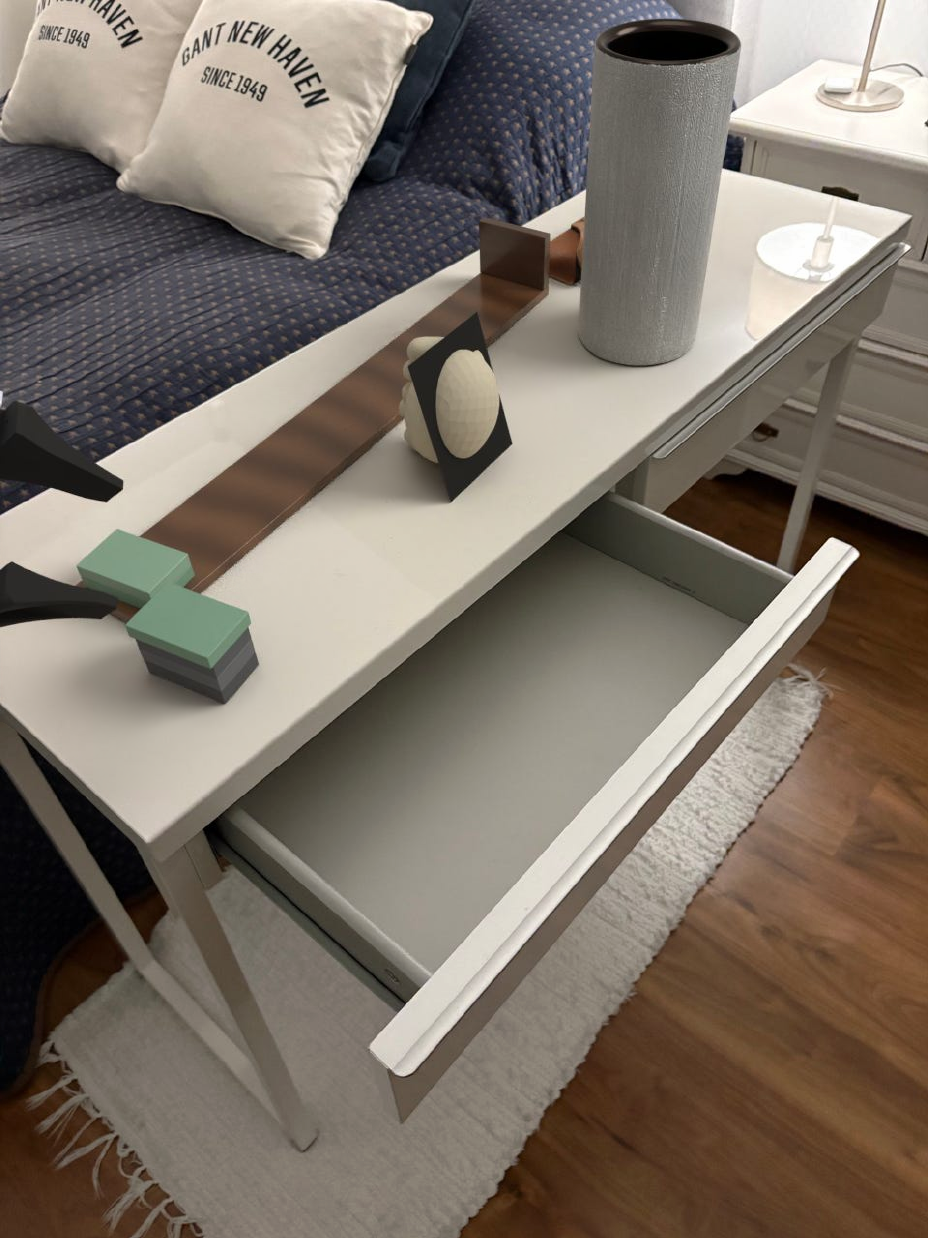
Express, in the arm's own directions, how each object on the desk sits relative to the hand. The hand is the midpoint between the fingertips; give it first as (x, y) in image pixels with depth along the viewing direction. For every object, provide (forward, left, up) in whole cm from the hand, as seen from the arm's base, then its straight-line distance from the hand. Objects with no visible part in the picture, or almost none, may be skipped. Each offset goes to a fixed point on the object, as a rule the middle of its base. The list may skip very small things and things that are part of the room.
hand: (112, 548), depth 57 cm
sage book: (+2, +4, -12) cm, 13 cm away
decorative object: (+27, +22, -16) cm, 38 cm away
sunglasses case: (+56, +55, -16) cm, 80 cm away
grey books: (+2, +4, -16) cm, 17 cm away
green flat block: (-1, +14, -15) cm, 21 cm away
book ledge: (+20, +31, -16) cm, 40 cm away
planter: (+52, +35, -16) cm, 65 cm away
